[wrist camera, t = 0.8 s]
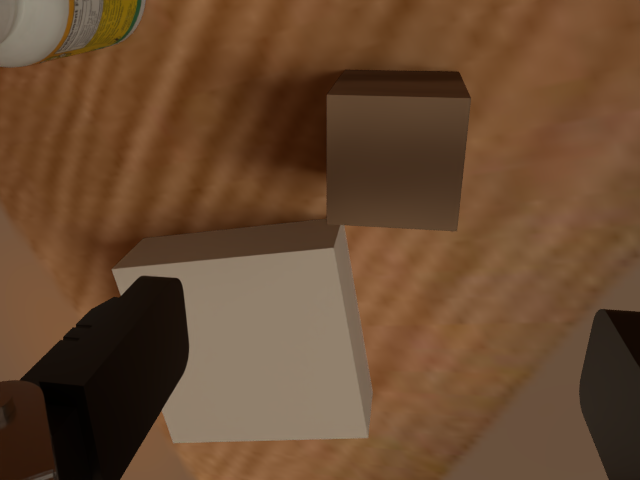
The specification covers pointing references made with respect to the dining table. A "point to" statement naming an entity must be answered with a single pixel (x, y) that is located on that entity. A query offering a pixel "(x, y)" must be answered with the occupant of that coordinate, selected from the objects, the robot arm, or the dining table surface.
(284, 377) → the riser block
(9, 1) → the supplement bottle
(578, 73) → the dining table surface
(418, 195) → the walnut block
